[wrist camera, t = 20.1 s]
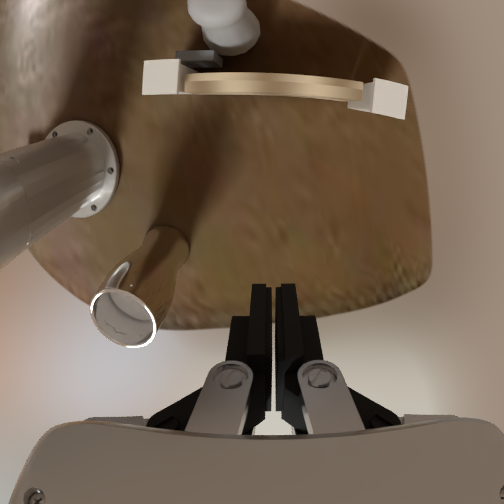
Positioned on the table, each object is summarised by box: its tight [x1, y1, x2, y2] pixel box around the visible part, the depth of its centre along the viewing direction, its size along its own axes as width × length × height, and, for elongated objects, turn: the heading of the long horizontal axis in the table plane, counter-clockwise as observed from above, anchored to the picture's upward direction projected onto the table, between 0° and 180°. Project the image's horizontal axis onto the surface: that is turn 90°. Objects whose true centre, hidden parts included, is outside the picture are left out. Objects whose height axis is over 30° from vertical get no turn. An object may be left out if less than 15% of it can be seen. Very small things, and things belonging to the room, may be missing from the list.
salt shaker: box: [188, 0, 260, 56], centre depth 23 cm, size 6×6×13 cm
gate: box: [185, 72, 363, 101], centre depth 27 cm, size 15×2×7 cm, turn 89°
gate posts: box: [142, 50, 408, 120], centre depth 26 cm, size 22×4×10 cm, turn 86°
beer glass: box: [90, 226, 189, 348], centre depth 33 cm, size 7×7×15 cm
